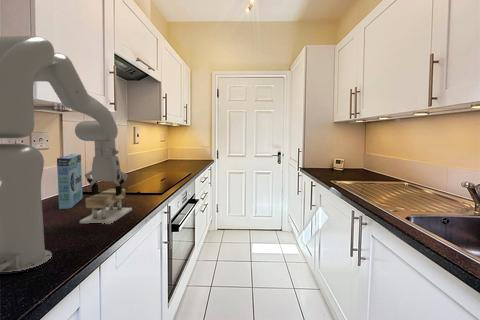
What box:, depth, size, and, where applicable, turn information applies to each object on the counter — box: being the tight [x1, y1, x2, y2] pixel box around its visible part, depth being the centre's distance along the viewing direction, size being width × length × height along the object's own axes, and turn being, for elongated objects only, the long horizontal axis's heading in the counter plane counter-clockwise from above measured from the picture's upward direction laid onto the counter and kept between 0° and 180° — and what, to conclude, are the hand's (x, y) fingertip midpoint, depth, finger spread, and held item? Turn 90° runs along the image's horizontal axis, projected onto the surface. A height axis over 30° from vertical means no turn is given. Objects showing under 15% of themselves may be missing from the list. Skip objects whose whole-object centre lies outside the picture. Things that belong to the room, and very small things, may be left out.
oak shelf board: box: [85, 188, 126, 209], centre depth 116 cm, size 18×7×4 cm, turn 177°
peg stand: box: [79, 199, 133, 225], centre depth 116 cm, size 19×12×6 cm, turn 178°
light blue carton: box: [56, 153, 84, 210], centre depth 134 cm, size 20×5×23 cm, turn 14°
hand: (106, 194), depth 115 cm, fingers open, 9 cm apart
